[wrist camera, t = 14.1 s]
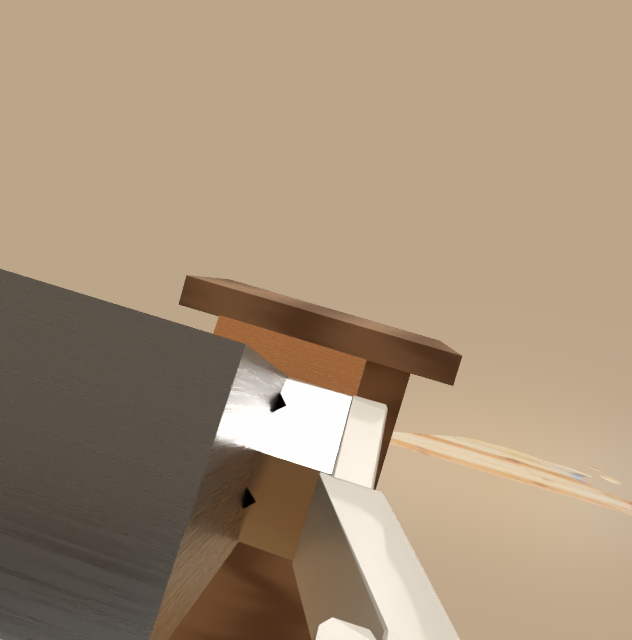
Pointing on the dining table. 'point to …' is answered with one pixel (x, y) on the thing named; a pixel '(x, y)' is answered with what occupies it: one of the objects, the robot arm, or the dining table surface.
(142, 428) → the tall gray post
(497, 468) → the dining table surface
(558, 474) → the dining table surface
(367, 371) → the walnut stand
